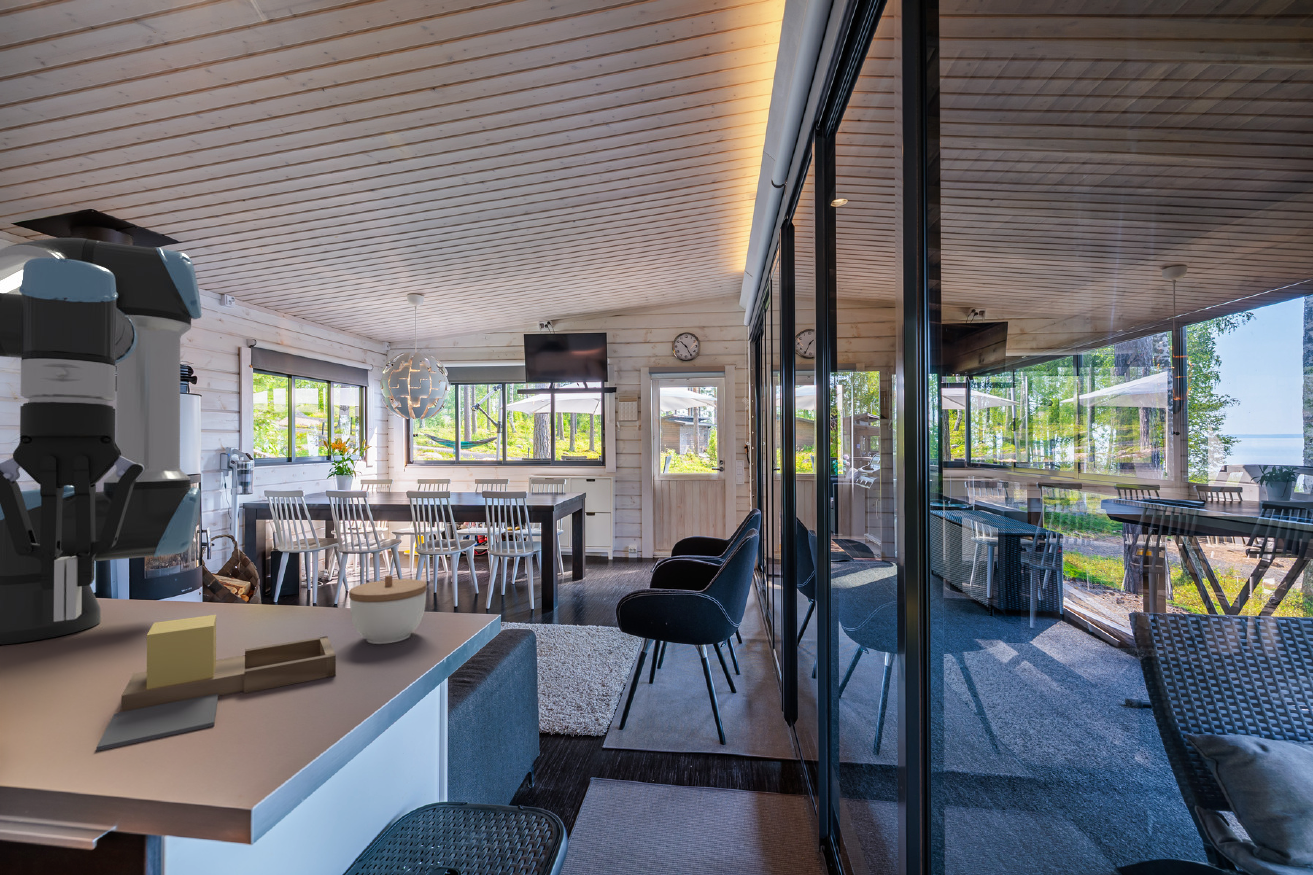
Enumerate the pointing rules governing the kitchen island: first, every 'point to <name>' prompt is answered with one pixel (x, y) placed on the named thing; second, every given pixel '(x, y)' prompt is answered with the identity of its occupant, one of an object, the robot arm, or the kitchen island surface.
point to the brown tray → (242, 674)
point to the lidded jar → (387, 609)
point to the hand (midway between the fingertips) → (67, 617)
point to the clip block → (181, 651)
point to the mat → (159, 721)
